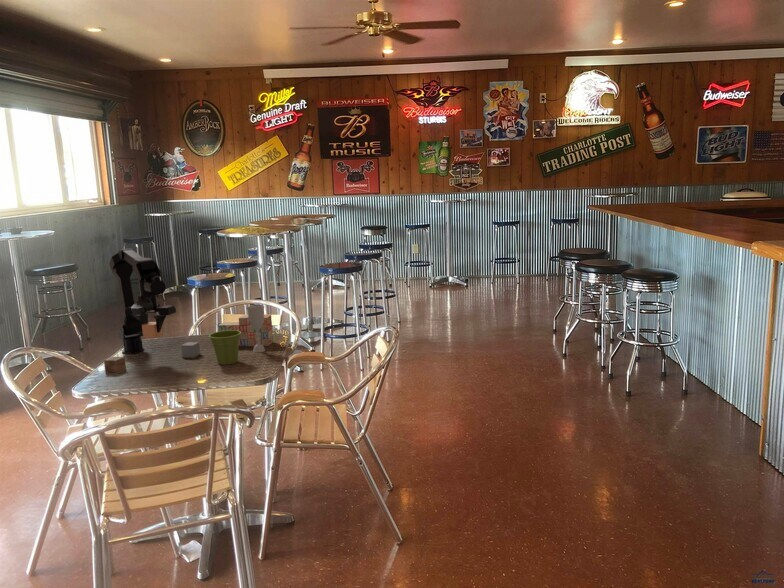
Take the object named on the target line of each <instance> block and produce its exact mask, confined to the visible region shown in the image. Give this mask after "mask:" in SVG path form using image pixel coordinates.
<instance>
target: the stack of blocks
mask: <svg viewBox="0 0 784 588" xmlns="http://www.w3.org/2000/svg"><path fill="white" fill-rule="evenodd" d="M217 328H218V332H219V331H225V330H238V331H241V334H240V339H239V347H254V346H255V345H257V340H256V338H257V336H256V330H255V329H253V327H252V326H251V324H250V322H249V319H248V314H242V315H241V316H239V317H238V321H223V322H221V323H220V324H218V326H217ZM259 334H260V335H259V338H260V341H259V342H260V344H262V345H263V347H267V346H268V347H269V346H270V345H272V344H273V342H274V340H273V338H274V336H273V321H272V314H264V321H263V324H262V327H261V329H259Z"/></svg>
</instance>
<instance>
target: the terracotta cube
mask: <svg viewBox="0 0 784 588" xmlns="http://www.w3.org/2000/svg"><path fill="white" fill-rule="evenodd" d="M142 330H143V336H142V337H143V339H145V338H147V339H155V338H158V337H160V336H161V337H162V336H163V327H162V328H161V330H160V332H159V333H158V332H157V326H156V321H148V323H146V324H143V325H142Z"/></svg>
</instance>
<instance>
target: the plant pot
mask: <svg viewBox="0 0 784 588" xmlns="http://www.w3.org/2000/svg"><path fill="white" fill-rule="evenodd" d="M240 334H241V331H238V330H225V331H219V330H218V331H215V332H212V333H210V334H209V335H208V337H209V338H210V341H211V343H212V345H213V350H214V354H215V356H216V357H215V358H216V359H217V363H218V364H219V365H222V366H225V365H233V364H236V363H237V362H238V360H239V347H240V346H239V339H240Z"/></svg>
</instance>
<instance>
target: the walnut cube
mask: <svg viewBox="0 0 784 588" xmlns="http://www.w3.org/2000/svg"><path fill="white" fill-rule="evenodd" d="M103 363H104V371H105V374H116V375H117V374H120V373H122V372H125V371H126V370H127V365H126V357H125V356H111V357H108V358H106V359H104V360H103Z"/></svg>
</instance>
